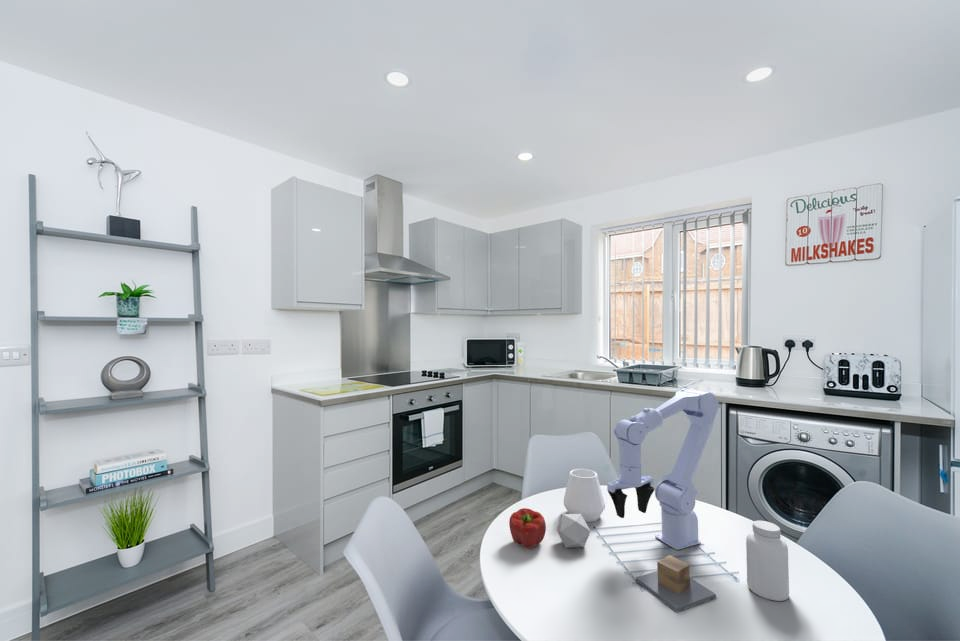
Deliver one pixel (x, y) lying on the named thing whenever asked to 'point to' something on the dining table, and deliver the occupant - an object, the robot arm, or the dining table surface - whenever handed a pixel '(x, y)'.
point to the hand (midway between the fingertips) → (631, 514)
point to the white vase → (584, 495)
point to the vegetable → (527, 527)
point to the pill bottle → (767, 562)
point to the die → (573, 530)
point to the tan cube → (673, 574)
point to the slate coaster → (675, 601)
